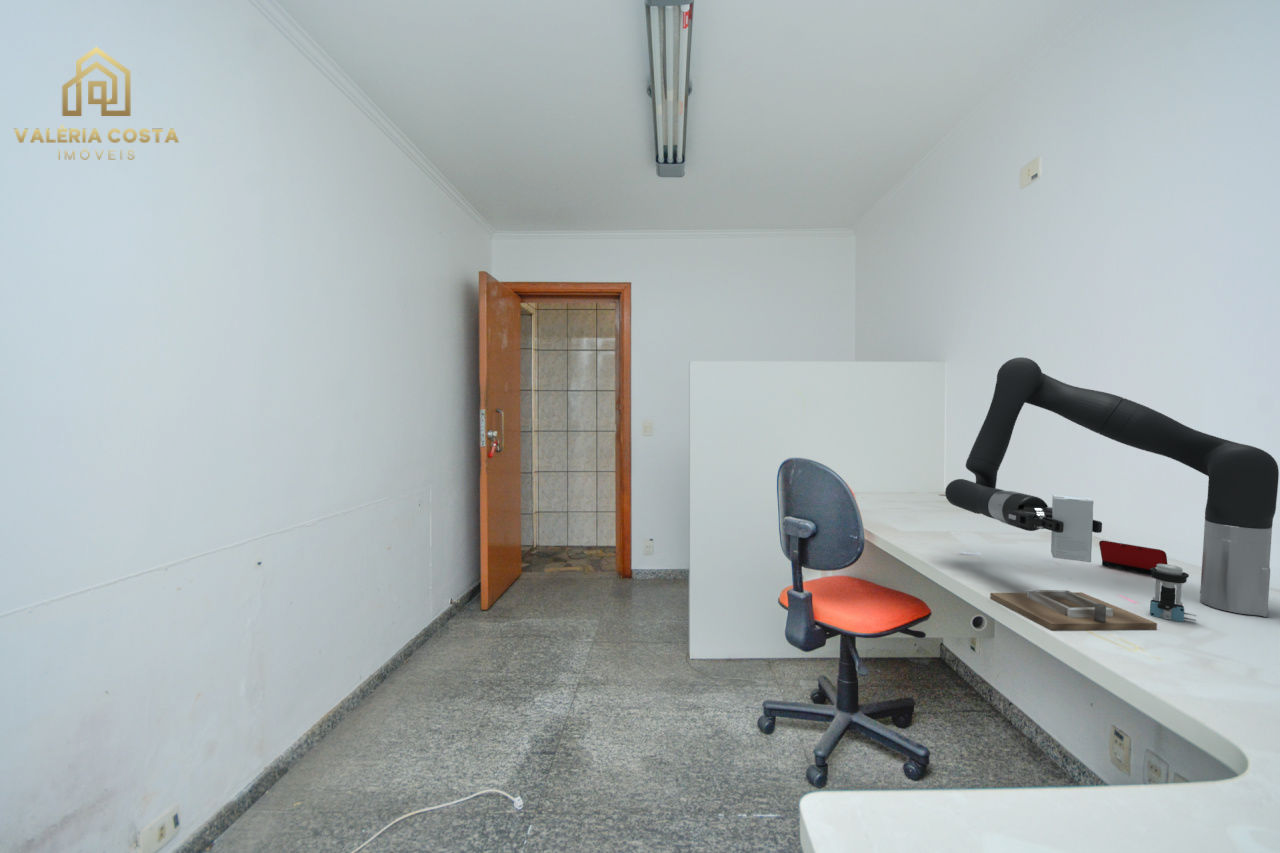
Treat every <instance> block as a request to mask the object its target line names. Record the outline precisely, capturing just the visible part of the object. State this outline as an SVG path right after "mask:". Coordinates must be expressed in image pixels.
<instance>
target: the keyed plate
mask: <svg viewBox="0 0 1280 853" xmlns="http://www.w3.org/2000/svg"><path fill="white" fill-rule="evenodd" d="M989 598H990V599H991V600H993V601H994V602H997V603H998V604H1000V605H1002V606H1003V607H1004V606H1005V607H1006V608H1008V609H1010V610H1012V611H1014V612H1015V613H1018V614H1019V615H1021V616H1023V617H1024V618H1025V617H1026V618H1027V619H1029V620H1031V621H1033V622H1035V623H1037V624H1038V625H1040V626H1043V627H1044V628H1046V629H1049V630H1050V631H1125V630H1126V631H1129V630H1130V631H1131V630H1132V631H1133V630H1135V631H1138V630H1139V631H1140V630H1142V631H1143V630H1144V631H1145V630H1146V631H1148V630H1149V631H1152V630H1153V631H1154V630H1157V628H1158V623H1157V622H1155V621H1153V620H1150V619H1148V618H1145V617H1143V616H1140V615H1138V614H1135V613H1133V612H1130V611H1129V610H1127V609H1123V608H1121V607H1118V606H1116V605H1113V604H1110V603H1108V602H1106V601H1104V600H1101V599H1100V598H1096V597H1094V596H1091V595H1088V594H1086V593H1084V592H1083V591H1082V592H1081V591H1080V592H1075V591H1073V592H1072V591H1070V590H1067V589H1059V590H1058V589H1041V590H1039V589H1036V590H1034V589H1029V590H1028V589H1027V591H1026V592H990V594H989Z"/></svg>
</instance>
